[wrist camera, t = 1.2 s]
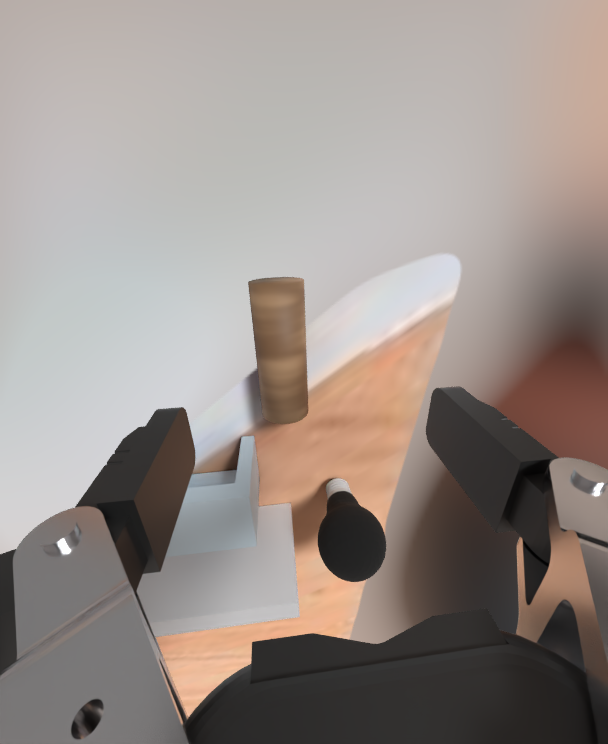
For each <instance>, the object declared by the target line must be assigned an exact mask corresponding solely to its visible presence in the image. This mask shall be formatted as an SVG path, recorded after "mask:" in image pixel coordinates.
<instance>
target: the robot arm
mask: <svg viewBox="0 0 608 744" xmlns="http://www.w3.org/2000/svg"><path fill="white" fill-rule="evenodd" d="M426 435H427V440H428V442H429V444H430V446H431V448H432V449H433V450H434V452H435V453H436V454H437V455H438V457H439V458H440V460H441V461H442V462H443V463H444V465H445V466H446V468H447V469H448V470H449V471H450V473H451V474H452V475H453V477H454V478H455V479H456V481H457V482H458V483H459V485H460V486H461V487H462V489H463V490H464V491H465V493H466V494H467V495H468V497H469V498H470V499H471V501H472V502H473V503H474V505H475V506H476V507H477V509H478V510H479V511H480V512H481V514H482V515H483V516H484V518H485V519H486V520H487V522H488V523H489V524H490V525H491V527H492V528H493V529H494V531H495V532H496V533H498V532H506V531H516V532H517V533H518V534H519V535H520V538H519V541H518V543H517V568H518V598H519V619H518V626H517V631H516V635H515V634H512V633H509V632H505V631H502V630H499V628H498V627H497V625H496V623H495V622H494V620H493V618H492V616H491V615H490V613H489V611H488V609H480V610H473V611H467V612H459V613H452V614H445V615H438V616H432V617H430V618H428V619H426V620H424V621H423V622H421V623H419V624H417V625H415V626H413V627H411V628H410V629H408V630H406V631H404V632H402V633H400V634H398V635H397V636H395V637H393V638H391V639H389V640H387V641H386V642H383V643H380V644H370V643H365V642H359V641H353V640H348V639H342V638H336V637H331V636H325V635H319V634H314V633H312V634H305V635H298V636H291V637H284V638H277V639H270V640H263V641H256V642H252V662H251V664H250V665H248V666H246V667H244V668H242V669H240V670H239V671H237V672H236V673H234V674H233V675H232V676H230V677H229V678H227V679H226V680H224V681H223V682H222V683H221V684H220V685H219V686H218V687H216V688H215V689H214V690H213V691H212V692H211V693H210V694H209V695H208V696H207V697H206V698H205V699H204V700H203V701H202V702H201V703H200V705H199V706H198V707H197V708H196V709H195V710H194V711H193V713H192V714H191V715H190V717H189V718H188V716H187V713H186V711H185V708H184V706H183V703H182V701H181V698H180V696H179V694H178V691H177V689H176V687H175V684H174V682H173V679H172V677H171V675H170V672H169V670H168V667H167V665H166V663H165V660H164V658H163V655H162V653H161V650H160V647H159V645H158V642H157V640H156V637H155V635H154V632H153V630H152V627H151V625H150V622H149V620H148V617H147V615H146V612H145V610H144V607H143V605H142V602H141V600H140V597H139V595H138V593H137V588H138V586H139V583H140V580H141V577H142V575H143V574H147V573H155V572H161V569H162V566H163V562H164V559H165V556H166V553H167V550H168V547H169V544H170V541H171V538H172V535H173V531H174V528H175V525H176V522H177V519H178V516H179V513H180V510H181V507H182V503H183V500H184V497H185V494H186V491H187V488H188V485H189V482H190V479H191V476H192V472H193V469H194V465H195V448H194V443H193V439H192V434H191V430H190V426H189V421H188V417H187V413H186V410H185V409H184V408H182V407H181V408H169V409H158V410H156V411H155V413H154V414H153V416H152V417H151V419H150V420H149V422H148V423H147V425H146V426H145V427H138V428H137V429H136V430H134V431H133V432H132V433H130V434H129V435H128V436H127V437H125V438H124V439H123V440H122V442H121V443H120V445H119V446H118V448H117V449H116V450H115V454H113V455H112V456H111V457H110V459H109V460H108V462H107V465H105V466H104V467H103V469H102V470H101V472H100V473H99V474H98V476H97V477H96V479H95V480H94V481H93V483H92V484H91V486H90V487H89V488H88V490H87V492H86V493H85V494H84V495H83V497H82V498H81V500H80V501H79V503H78V504H77V505H76V507H75V508H72V509H68V510H66V511H63V512H61V513H58V514H56V515H54V516H52V517H50V518H49V519H47V520H46V521H44V522H43V523H41V524H40V525H38V526H37V527H36V528H34V529H33V530H32V531H31V532H30V533H29V534H28V535H27V536H26V537H25V538H24V539H23V540H22V542H21V543H20V544H19V546H18V547H17V549H15V550H12V551H9V552H6V553H3V554H0V744H608V470H606V469H604V468H602V467H600V466H598V465H596V464H593V463H590V462H587V461H584V460H579V459H574V458H558V457H557V456H556V455H555V454H553V453H552V452H551V451H549V450H548V449H547V448H546V447H544V446H543V445H542V444H540V443H539V442H538V441H537V440H535V439H534V438H533V437H531V436H530V435H529V434H528V433H526V432H525V431H524V430H522V429H521V428H518V426H517V425H516V424H515V423H513V422H512V421H511V420H508V419H507V417H506V416H504V415H503V414H502V413H501V412H499V411H498V410H497V409H495V408H494V407H492V406H490V405H487V404H485V403H483V402H481V401H479V400H477V399H476V398H475V397H473V396H472V395H471V394H470V393H468V392H467V391H466V390H465V389H463V388H462V387H446V388H436V389H435V390H434V391H433V393H432V397H431V403H430V409H429V414H428V420H427V426H426Z"/></svg>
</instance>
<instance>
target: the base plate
mask: <svg viewBox="0 0 608 744" xmlns="http://www.w3.org/2000/svg"><path fill="white" fill-rule="evenodd" d="M137 593H138V595H139V597H140V600H141V602H142V605H143V607H144V610H145V612H146V615H147V617H148V620H149V622H150V625H151V627H152V630H153V632H154V635H155V637H159V636H166V635H174V634H181V633H188V632H195V631H202V630H209V629H217V628H224V627H231V626H238V625H245V624H252V623H259V622H267V621H274V620H281V619H288V618H295V617H300V616H299V602H298V589H297V576H296V563H295V550H294V538H293V525H292V512H291V503H285V504H275V505H266V506H258V529H257V546H255V547H247V548H239V549H230V550H222V551H213V552H205V553H197V554H188V555H180V556H172V557H165V559H164V562H163V566H162V569H161V572H155V573H147V574H143V575H142V577H141V580H140V583H139V586H138V588H137Z"/></svg>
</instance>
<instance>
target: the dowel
mask: <svg viewBox="0 0 608 744" xmlns="http://www.w3.org/2000/svg"><path fill="white" fill-rule="evenodd" d="M248 285H249V294H250V303H251V312H252V322H253V331H254V340H255V349H256V358H257V368H258V377H259V386H260V396H261V405H262V414H263V417H264V418H265V419H266V420H267V421H269V422H272V423H276V424H290V423H294V422H297V421H300V420H302V419H303V418H304V417H305V416H306V415H307V414H308V388H307V358H306V328H305V301H304V300H305V298H304V280H303V279H301V278H294V277H275V278H264V279H256V280H252V281H249V282H248Z"/></svg>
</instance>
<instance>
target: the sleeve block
mask: <svg viewBox="0 0 608 744" xmlns="http://www.w3.org/2000/svg"><path fill="white" fill-rule="evenodd" d="M259 482H260V478H259V470H258V462H257V454H256V446H255V438H254V436H244V437H242V438H241V445H240V452H239V459H238V466H237V470H230V471H220V472H210V473H199V474H192V476H191V479H190V482H189V485H188V488H187V491H186V494H185V497H184V500H183V503H182V507H181V510H180V513H179V516H178V519H177V522H176V525H175V528H174V531H173V535H172V538H171V541H170V544H169V547H168V550H167V553H166V556H165V557H172V556H180V555H188V554H197V553H205V552H213V551H222V550H230V549H239V548H247V547H255V546H257V529H258V506H259Z"/></svg>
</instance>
